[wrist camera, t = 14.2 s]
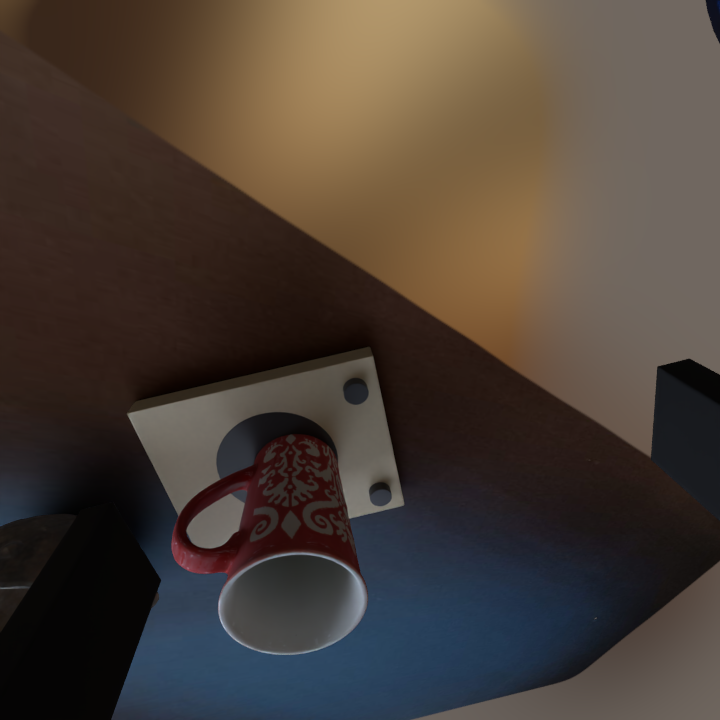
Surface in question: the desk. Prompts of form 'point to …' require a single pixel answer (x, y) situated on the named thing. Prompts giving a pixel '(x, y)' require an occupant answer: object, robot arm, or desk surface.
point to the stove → (270, 435)
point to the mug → (283, 551)
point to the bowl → (28, 556)
